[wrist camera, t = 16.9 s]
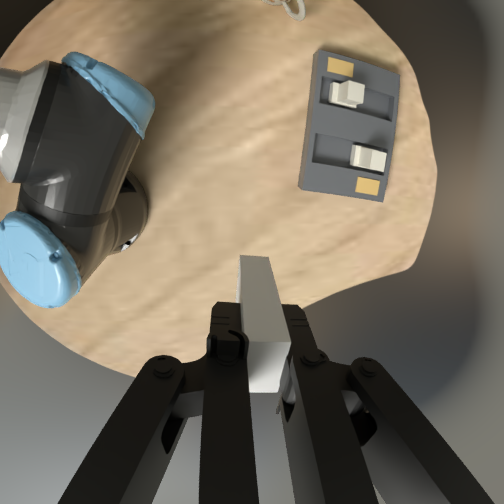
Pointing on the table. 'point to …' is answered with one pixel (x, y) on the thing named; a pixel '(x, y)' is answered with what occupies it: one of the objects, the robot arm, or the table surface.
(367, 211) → the table surface
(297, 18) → the mug
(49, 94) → the robot arm
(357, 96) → the tab
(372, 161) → the tab
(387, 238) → the table surface
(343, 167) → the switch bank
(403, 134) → the table surface
